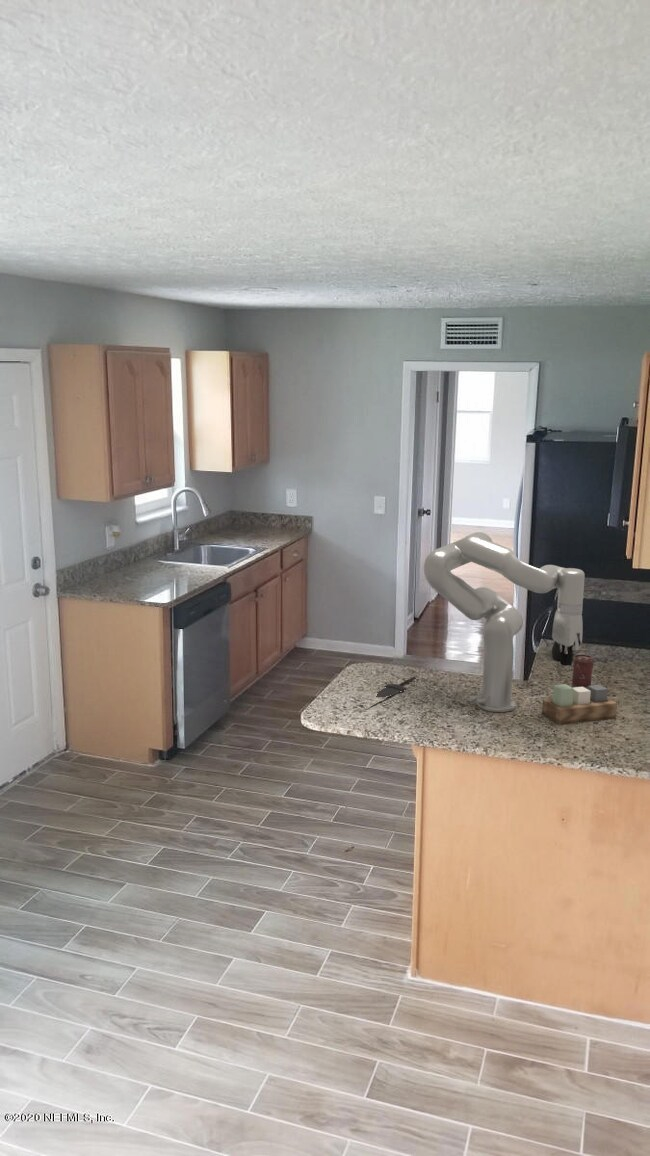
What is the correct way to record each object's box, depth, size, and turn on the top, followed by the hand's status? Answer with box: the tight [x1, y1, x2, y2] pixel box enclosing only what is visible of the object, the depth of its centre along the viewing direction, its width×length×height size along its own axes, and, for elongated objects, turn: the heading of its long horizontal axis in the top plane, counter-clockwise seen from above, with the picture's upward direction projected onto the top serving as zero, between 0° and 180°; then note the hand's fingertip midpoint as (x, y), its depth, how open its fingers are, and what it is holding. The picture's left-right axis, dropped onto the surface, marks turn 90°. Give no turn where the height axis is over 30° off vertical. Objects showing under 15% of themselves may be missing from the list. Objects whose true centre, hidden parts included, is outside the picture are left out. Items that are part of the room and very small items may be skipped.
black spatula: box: [376, 676, 417, 697], centre depth 301 cm, size 7×35×2 cm, turn 144°
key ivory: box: [573, 687, 591, 705], centre depth 282 cm, size 4×4×7 cm
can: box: [571, 654, 594, 689], centre depth 300 cm, size 6×6×14 cm
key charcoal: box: [588, 684, 609, 703], centre depth 284 cm, size 4×4×7 cm
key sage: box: [552, 683, 574, 707], centre depth 279 cm, size 4×4×7 cm
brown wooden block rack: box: [541, 697, 618, 726], centre depth 282 cm, size 21×10×5 cm, turn 109°
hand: (565, 664), depth 277 cm, fingers closed
